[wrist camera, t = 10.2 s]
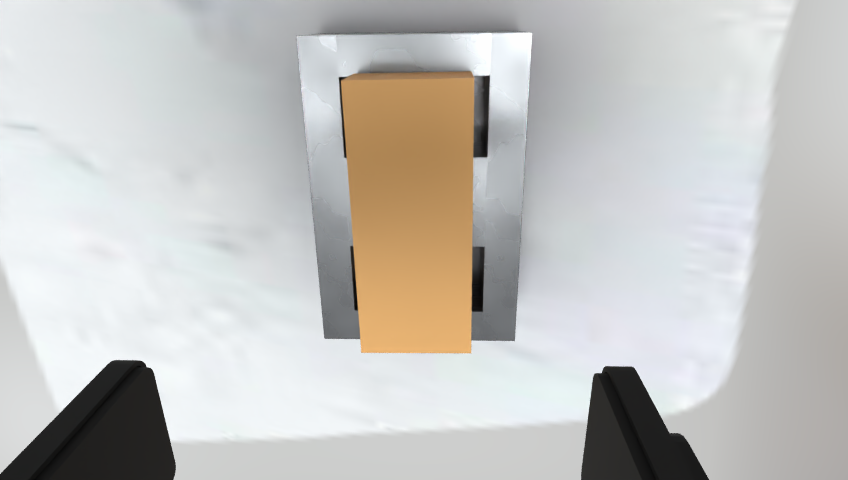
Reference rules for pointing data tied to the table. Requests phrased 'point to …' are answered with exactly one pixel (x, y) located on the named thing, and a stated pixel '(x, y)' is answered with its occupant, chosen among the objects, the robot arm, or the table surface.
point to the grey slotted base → (492, 159)
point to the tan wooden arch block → (411, 208)
